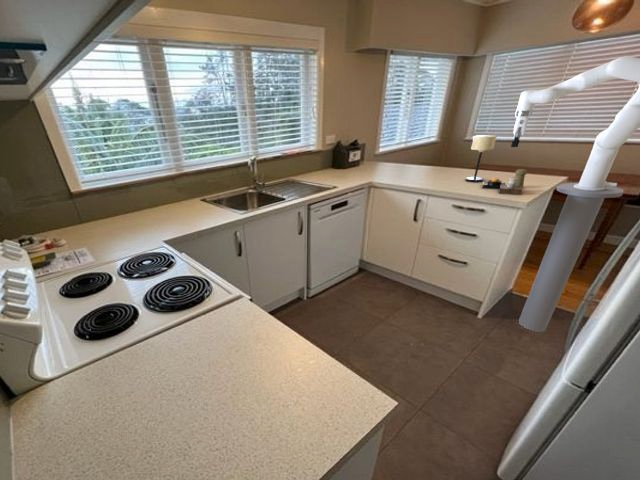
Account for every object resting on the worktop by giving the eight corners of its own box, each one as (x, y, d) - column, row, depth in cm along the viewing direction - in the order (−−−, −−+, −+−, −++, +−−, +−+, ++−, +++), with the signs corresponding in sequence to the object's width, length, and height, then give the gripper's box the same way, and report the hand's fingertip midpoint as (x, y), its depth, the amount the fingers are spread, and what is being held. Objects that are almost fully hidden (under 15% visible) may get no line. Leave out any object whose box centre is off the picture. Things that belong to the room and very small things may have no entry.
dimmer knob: (515, 188, 172) (518, 178, 170) (506, 187, 174) (509, 178, 172) (515, 186, 175) (518, 177, 172) (506, 186, 177) (509, 176, 175)
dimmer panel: (520, 191, 176) (521, 185, 175) (520, 194, 170) (522, 189, 169) (499, 189, 182) (500, 184, 181) (498, 193, 176) (500, 188, 174)
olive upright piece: (510, 188, 183) (515, 170, 178) (510, 186, 187) (515, 168, 182) (522, 189, 179) (528, 170, 175) (522, 186, 184) (528, 168, 179)
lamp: (485, 179, 206) (496, 134, 193) (484, 183, 198) (496, 136, 185) (464, 178, 213) (474, 135, 200) (463, 182, 204) (473, 137, 192)
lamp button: (498, 181, 187) (499, 178, 186) (498, 182, 184) (499, 179, 183) (491, 180, 189) (492, 177, 188) (491, 181, 186) (492, 179, 185)
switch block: (504, 186, 188) (506, 179, 186) (504, 189, 182) (506, 183, 180) (483, 185, 194) (484, 178, 192) (482, 188, 188) (483, 181, 186)
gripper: (532, 114, 167) (522, 148, 175) (531, 112, 177) (521, 145, 185) (515, 115, 171) (506, 148, 179) (515, 113, 181) (506, 145, 189)
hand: (514, 146), depth 182 cm, fingers closed
